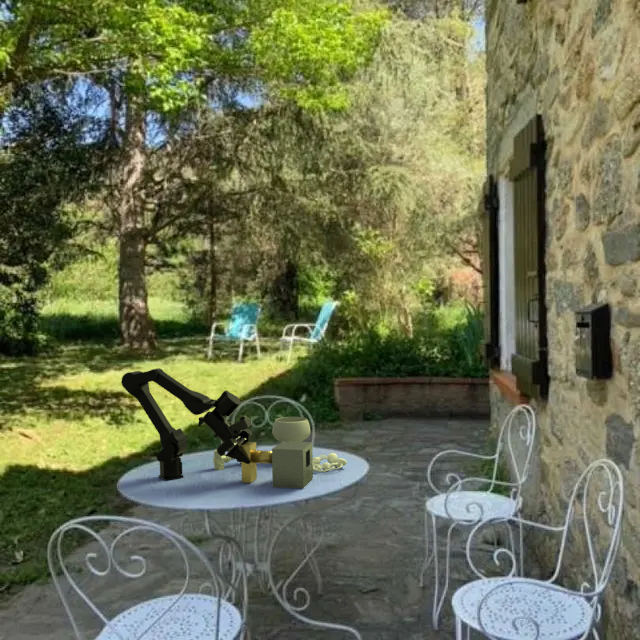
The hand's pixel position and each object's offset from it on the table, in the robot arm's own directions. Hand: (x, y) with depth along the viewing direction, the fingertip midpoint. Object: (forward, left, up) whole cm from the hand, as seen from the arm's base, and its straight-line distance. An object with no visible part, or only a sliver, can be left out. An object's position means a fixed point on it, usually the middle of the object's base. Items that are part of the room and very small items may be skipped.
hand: (252, 460), depth 218 cm
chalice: (+27, +16, -7) cm, 32 cm away
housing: (+8, -11, -7) cm, 15 cm away
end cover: (+2, -2, -6) cm, 7 cm away
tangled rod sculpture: (+26, -2, -7) cm, 27 cm away
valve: (+4, +23, -7) cm, 24 cm away
